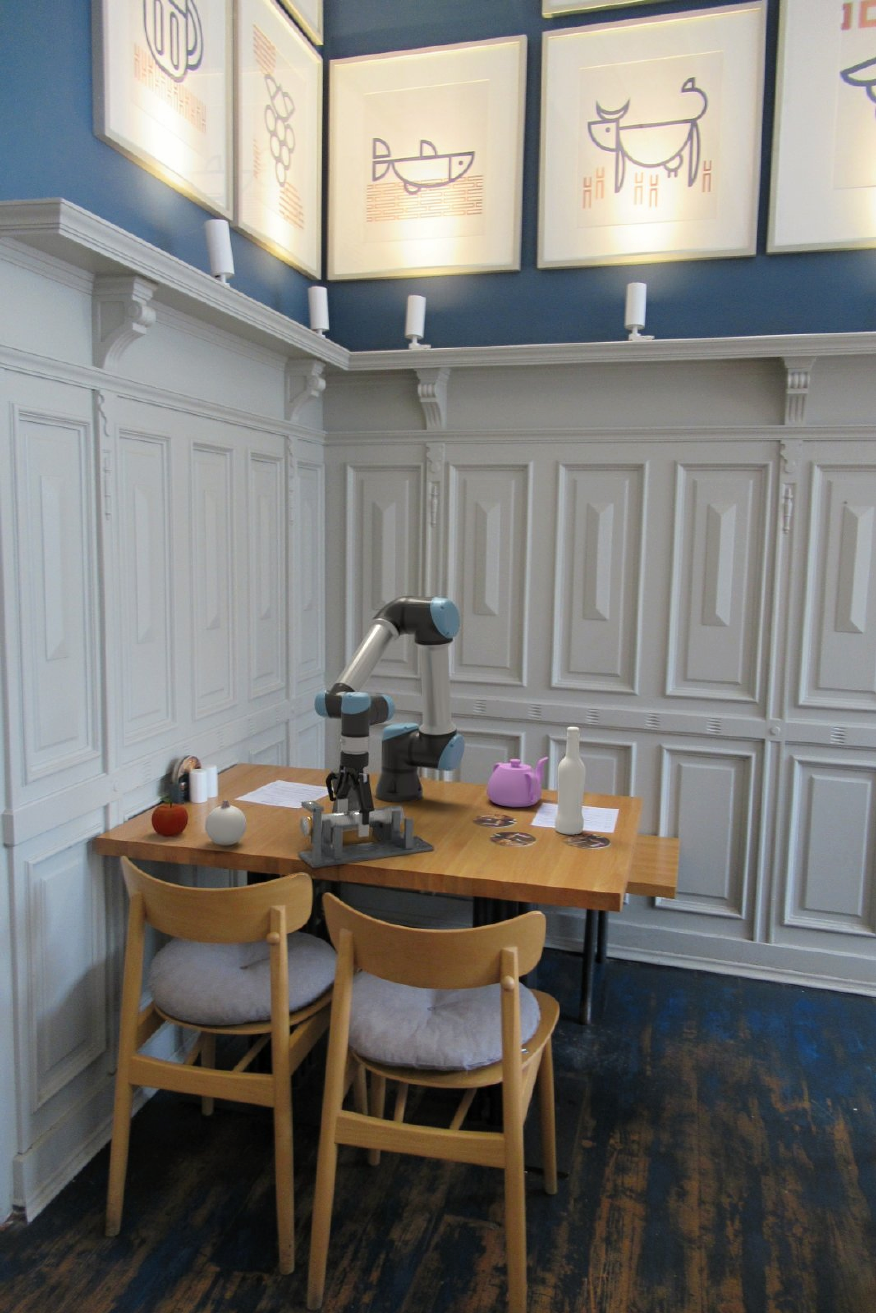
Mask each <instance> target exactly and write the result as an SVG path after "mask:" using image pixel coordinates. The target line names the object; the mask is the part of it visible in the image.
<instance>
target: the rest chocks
mask: <svg viewBox="0 0 876 1313" xmlns="http://www.w3.org/2000/svg"><path fill="white" fill-rule="evenodd" d="M391 824H392V822H389V823H383V826H378V827H371V835H372V836H373V837H375V838H376V839H378V840H379V841H383V840H390V839H391ZM331 842H333V831H332V830H331ZM312 843H313V835H311V836H310V844H312ZM321 846H322V831H321Z"/></svg>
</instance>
